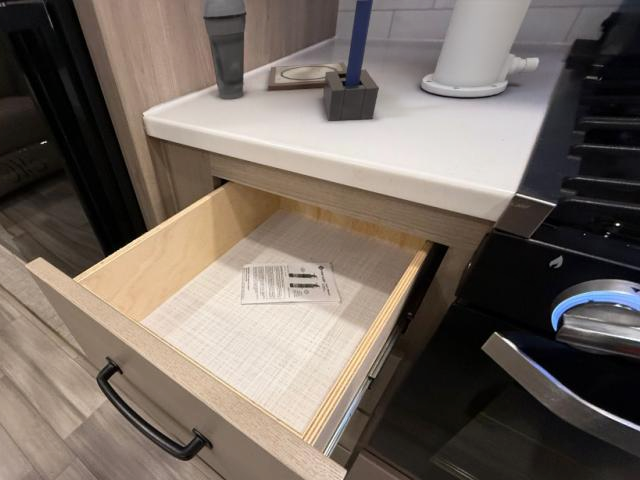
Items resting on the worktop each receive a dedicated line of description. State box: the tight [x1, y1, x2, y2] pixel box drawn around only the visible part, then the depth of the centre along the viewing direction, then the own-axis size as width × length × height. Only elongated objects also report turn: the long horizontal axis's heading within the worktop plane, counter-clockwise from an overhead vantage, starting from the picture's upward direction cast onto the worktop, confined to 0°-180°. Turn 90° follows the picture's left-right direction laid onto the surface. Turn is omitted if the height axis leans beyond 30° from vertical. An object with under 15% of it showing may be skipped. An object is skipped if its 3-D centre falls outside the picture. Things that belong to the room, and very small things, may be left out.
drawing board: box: [267, 61, 347, 91], centre depth 66 cm, size 16×16×1 cm
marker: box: [345, 0, 374, 86], centre depth 45 cm, size 2×2×13 cm
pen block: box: [322, 68, 380, 122], centre depth 50 cm, size 6×11×4 cm, turn 174°
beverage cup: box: [202, 0, 247, 100], centre depth 54 cm, size 7×7×20 cm
